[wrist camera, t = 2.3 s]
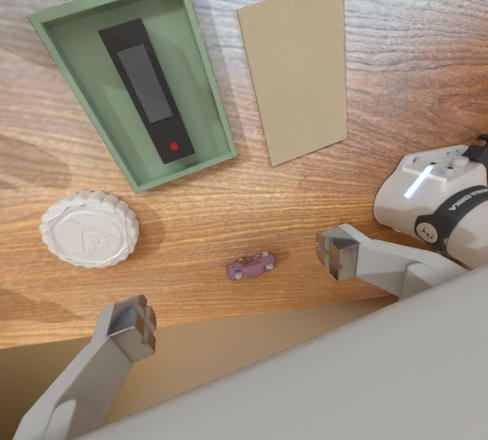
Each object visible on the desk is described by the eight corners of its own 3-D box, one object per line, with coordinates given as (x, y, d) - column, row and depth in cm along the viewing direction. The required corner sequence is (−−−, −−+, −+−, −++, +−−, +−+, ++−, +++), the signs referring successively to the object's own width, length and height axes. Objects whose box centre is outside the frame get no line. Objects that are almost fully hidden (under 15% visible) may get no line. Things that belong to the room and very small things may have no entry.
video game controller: (267, 245, 47) (278, 251, 40) (272, 265, 48) (284, 275, 41) (222, 258, 46) (225, 266, 39) (228, 279, 46) (231, 291, 39)
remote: (144, 26, 25) (140, 16, 22) (193, 148, 32) (195, 153, 29) (106, 37, 25) (96, 30, 22) (164, 158, 32) (163, 165, 29)
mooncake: (36, 239, 33) (22, 253, 30) (68, 173, 30) (56, 181, 27) (119, 266, 39) (115, 281, 36) (153, 213, 36) (151, 224, 33)
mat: (341, -23, 28) (343, -24, 27) (345, 138, 38) (347, 138, 38) (236, 10, 27) (237, 9, 26) (271, 166, 37) (272, 167, 37)
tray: (181, -22, 24) (182, -31, 22) (234, 152, 35) (238, 156, 33) (37, 21, 23) (25, 15, 21) (137, 188, 33) (135, 194, 32)
